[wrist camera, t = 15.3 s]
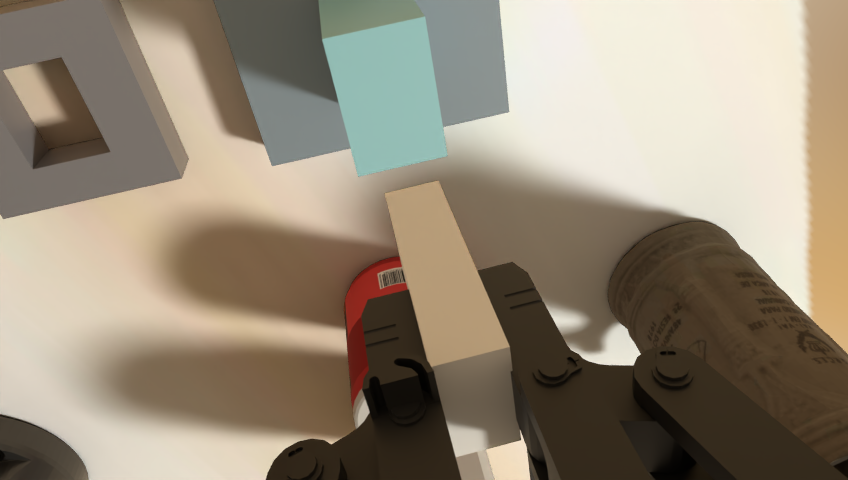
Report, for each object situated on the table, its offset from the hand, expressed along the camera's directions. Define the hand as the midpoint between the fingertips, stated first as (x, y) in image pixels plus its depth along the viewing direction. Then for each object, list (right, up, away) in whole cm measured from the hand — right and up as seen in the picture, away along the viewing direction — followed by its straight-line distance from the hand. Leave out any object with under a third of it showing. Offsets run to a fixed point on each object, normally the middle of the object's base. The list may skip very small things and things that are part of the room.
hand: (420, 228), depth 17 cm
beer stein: (+20, -5, +32) cm, 38 cm away
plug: (-3, +11, +17) cm, 20 cm away
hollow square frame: (-20, +7, +16) cm, 26 cm away
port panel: (-3, +11, +17) cm, 20 cm away
